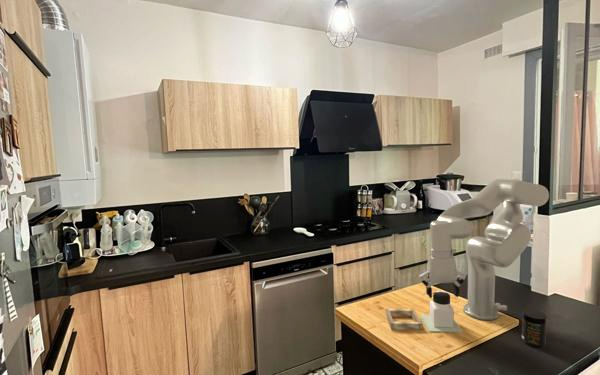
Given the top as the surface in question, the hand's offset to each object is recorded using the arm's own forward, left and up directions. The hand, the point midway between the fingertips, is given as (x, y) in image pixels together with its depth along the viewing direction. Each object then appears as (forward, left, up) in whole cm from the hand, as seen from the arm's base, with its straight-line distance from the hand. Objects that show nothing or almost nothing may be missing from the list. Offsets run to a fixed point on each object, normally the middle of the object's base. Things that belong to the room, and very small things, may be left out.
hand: (442, 295), depth 125 cm
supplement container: (-26, +12, -11) cm, 31 cm away
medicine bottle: (+1, 0, -11) cm, 11 cm away
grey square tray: (+15, -1, -11) cm, 19 cm away
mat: (+1, 0, -11) cm, 11 cm away
